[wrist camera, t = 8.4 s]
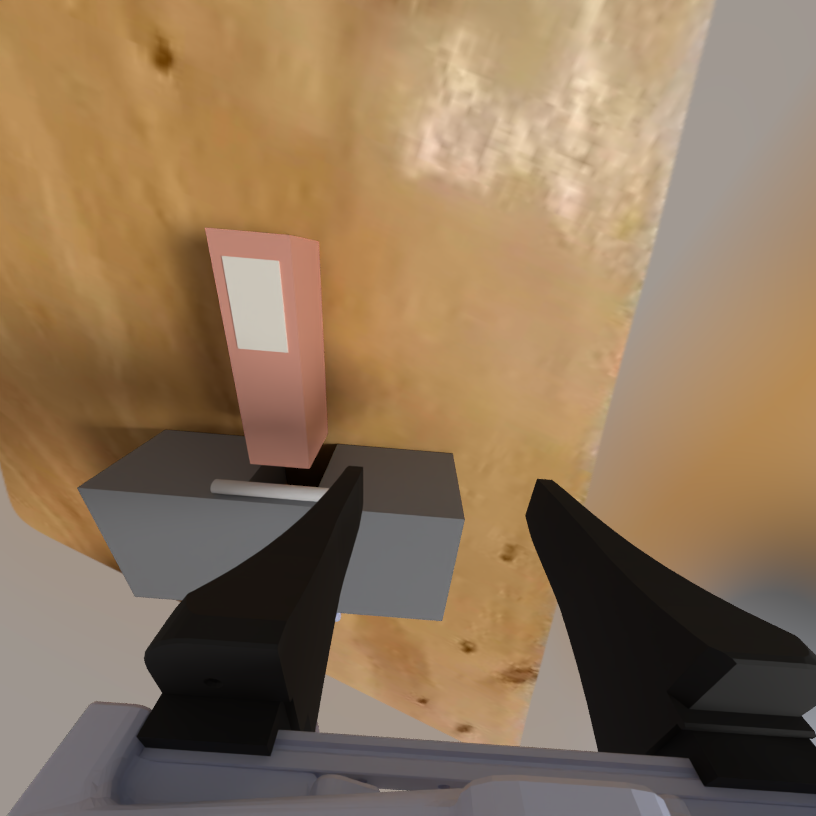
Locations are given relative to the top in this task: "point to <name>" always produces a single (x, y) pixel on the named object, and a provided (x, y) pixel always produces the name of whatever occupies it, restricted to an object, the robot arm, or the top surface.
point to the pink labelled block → (274, 341)
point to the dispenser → (277, 519)
